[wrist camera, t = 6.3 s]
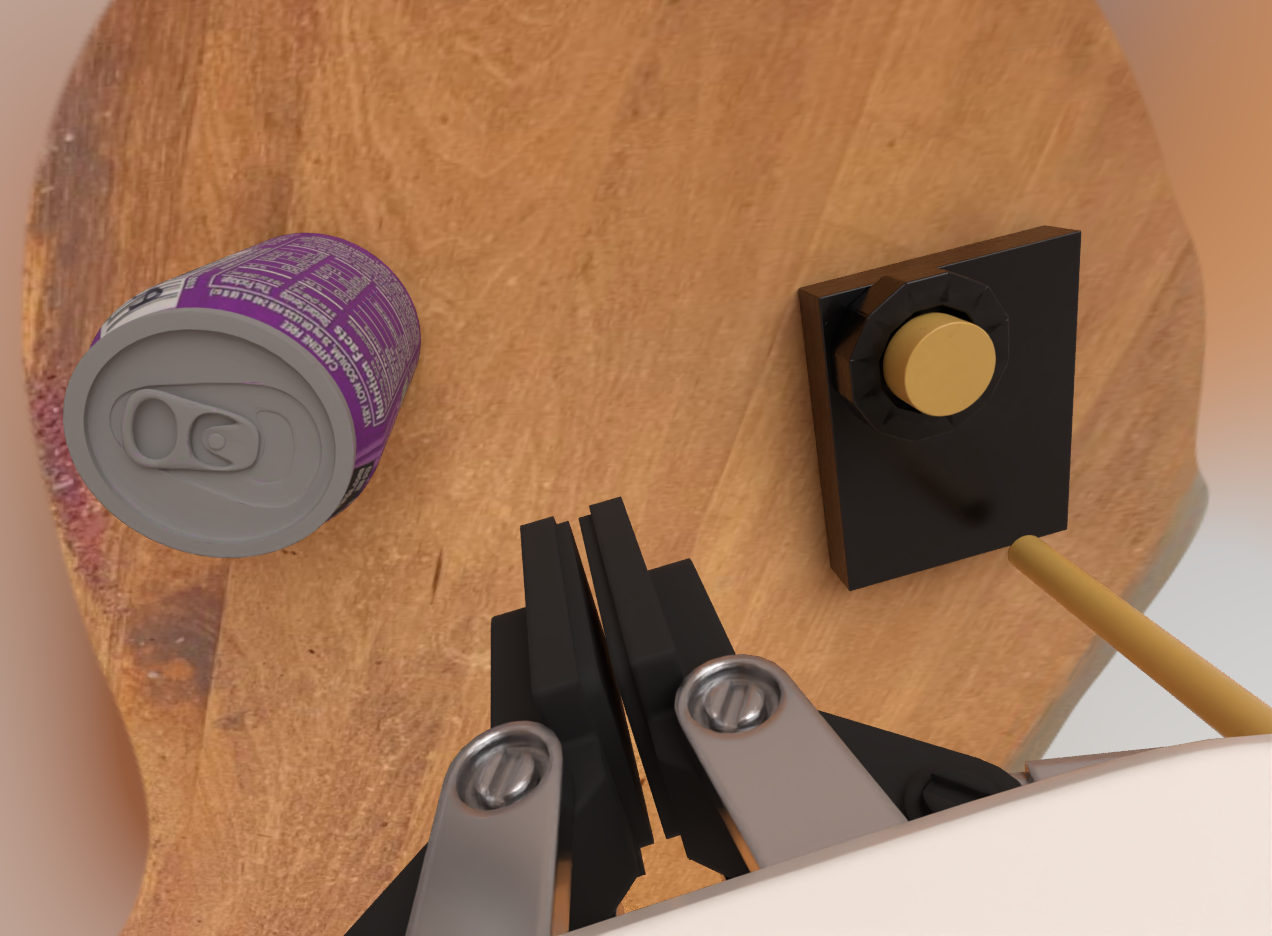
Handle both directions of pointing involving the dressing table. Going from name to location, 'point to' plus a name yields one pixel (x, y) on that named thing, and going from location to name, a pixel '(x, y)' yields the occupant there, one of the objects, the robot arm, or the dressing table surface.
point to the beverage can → (245, 395)
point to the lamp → (1144, 642)
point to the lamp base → (955, 444)
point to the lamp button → (939, 363)
